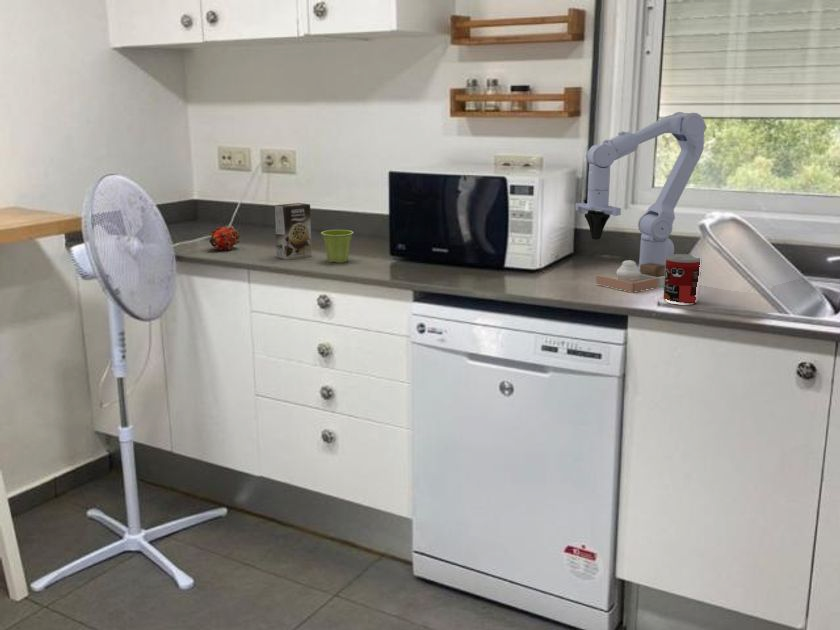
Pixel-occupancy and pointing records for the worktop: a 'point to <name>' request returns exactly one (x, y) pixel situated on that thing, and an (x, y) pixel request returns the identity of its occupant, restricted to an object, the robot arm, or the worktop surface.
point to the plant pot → (337, 244)
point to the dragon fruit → (224, 238)
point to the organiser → (641, 284)
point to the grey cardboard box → (293, 230)
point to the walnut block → (652, 269)
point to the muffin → (628, 271)
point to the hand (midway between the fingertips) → (596, 239)
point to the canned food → (681, 278)
